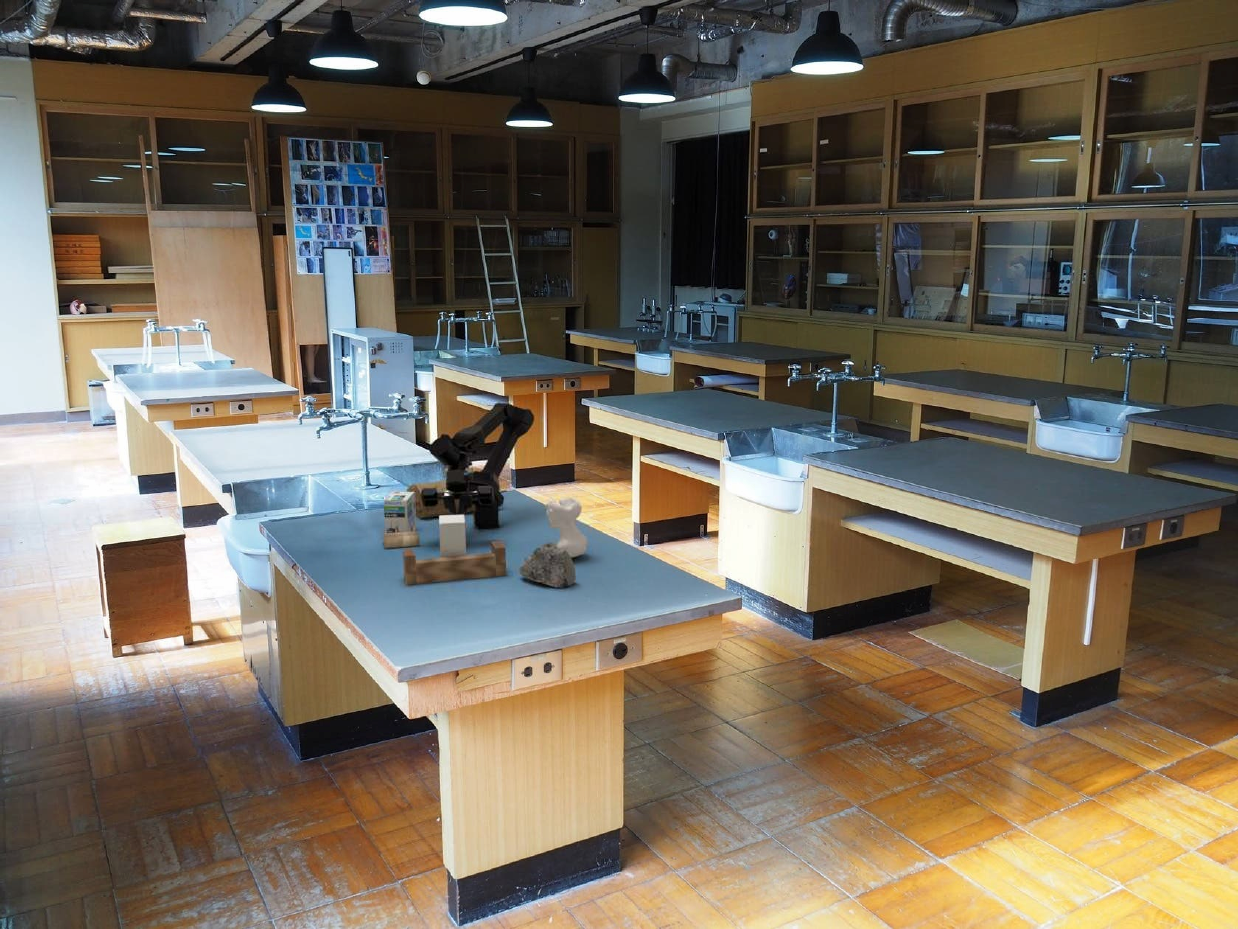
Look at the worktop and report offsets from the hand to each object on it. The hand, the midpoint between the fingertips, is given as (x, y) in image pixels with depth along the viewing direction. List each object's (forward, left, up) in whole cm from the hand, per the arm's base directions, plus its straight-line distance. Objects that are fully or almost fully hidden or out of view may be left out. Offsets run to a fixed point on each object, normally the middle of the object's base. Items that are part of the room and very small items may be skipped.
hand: (457, 524), depth 270 cm
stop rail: (+4, +22, -7) cm, 23 cm away
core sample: (-5, -41, -7) cm, 42 cm away
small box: (+3, +17, -7) cm, 19 cm away
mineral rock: (-17, +33, -7) cm, 37 cm away
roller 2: (+14, -6, -6) cm, 16 cm away
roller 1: (+14, -10, -6) cm, 18 cm away
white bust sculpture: (-25, +15, -7) cm, 30 cm away
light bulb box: (+13, -21, -7) cm, 26 cm away
